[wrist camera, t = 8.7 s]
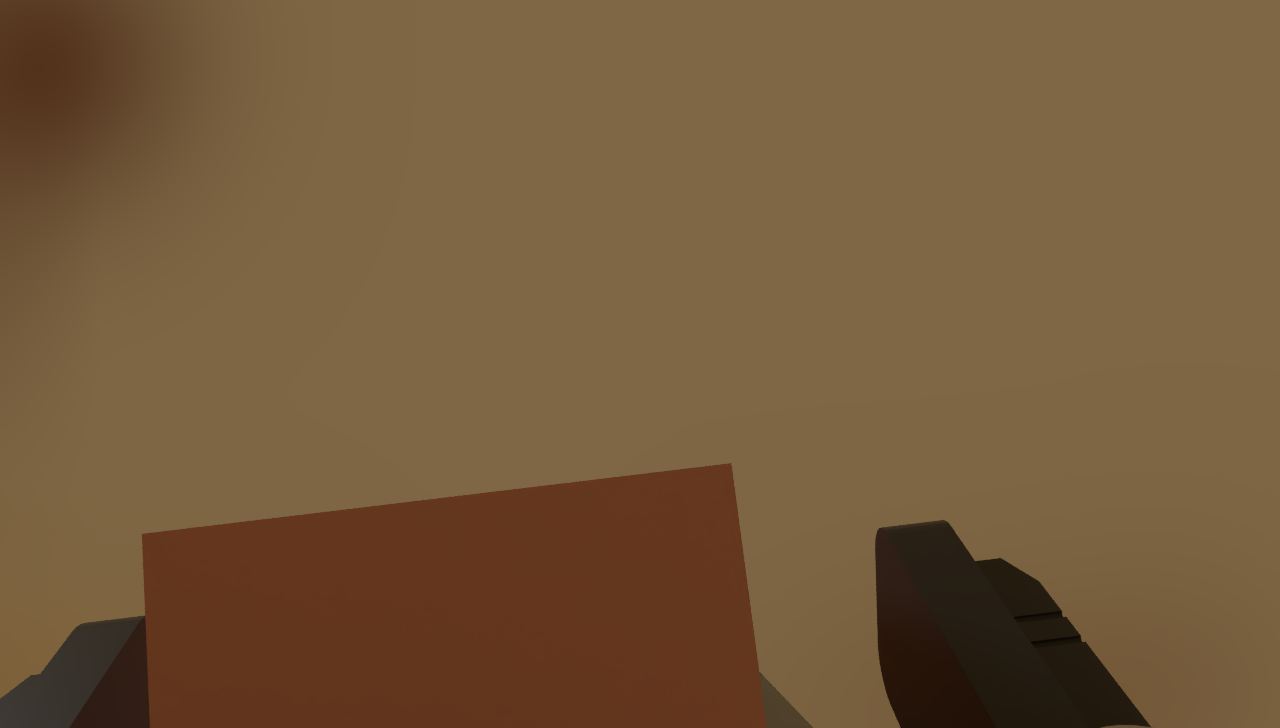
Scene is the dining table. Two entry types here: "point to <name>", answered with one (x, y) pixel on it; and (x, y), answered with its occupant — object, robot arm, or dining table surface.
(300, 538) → the bar
